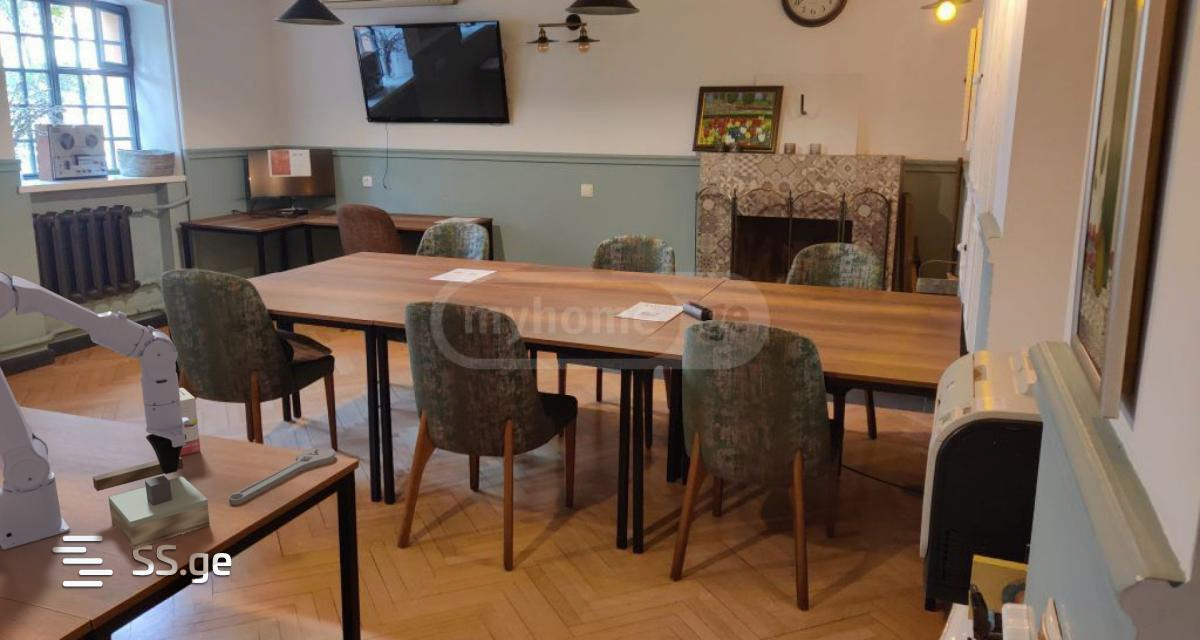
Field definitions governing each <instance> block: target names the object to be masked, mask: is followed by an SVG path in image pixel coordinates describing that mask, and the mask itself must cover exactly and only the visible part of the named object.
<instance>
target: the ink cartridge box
mask: <svg viewBox="0 0 1200 640" xmlns="http://www.w3.org/2000/svg"><path fill="white" fill-rule="evenodd" d="M179 394H180V403H181V413H182V418H183V417H187V418H188V419H189V420H190V423H189V424H186V425H184V432H183V433H184V434H185V435H186V445H183V446H182V449H181V453H180V457H181V456H186V455H190V454H195V453H200V452H201V442H200V434H199V425H198V415H197V413H198V412H197V406H196V405H197V403H196V397H195V396H193V395H192V394H191V393H190V392H189V391H188V390H187V389H185V388H184V387H179Z"/></svg>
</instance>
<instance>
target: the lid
mask: <svg viewBox="0 0 1200 640" xmlns="http://www.w3.org/2000/svg"><path fill="white" fill-rule="evenodd" d="M144 484H145V486H141V487H138V488H133V489H131V490H126V491H123V492H119V493H115V494H113V495H108V496H107V497H108V503H109V502H110V503H111V505H112V506H113V507H114V508H115V509H116V510H117V512H118V513H119V514H120V515H121V516H122V518H123V519H124V520H125V521H126V522H127V524H128V525H129V526H130V527H134V526H138V525H141V524H144V523H148V522H151V521H155V520H158V519H161V518H165V517H168V516H171V515H175V514H178V513H181V512H185V511H188V510H192V509H195V508H198V507H202V506H205V505H208V504H209V502H208V499H207V497H205V495H203V494H202V493H201V492H200V491H199V490H198V489H197V488H196V487H195V486H194V485H192V484H191V483H190V482H189V481H188V480H187V479H186V478H185V477H184V476H178V477H175V478H171V479H168V478H167V476H165V474H162V475H161V476H160V475H159V476H155V477H151V478H149V479H148V478H147V479H144ZM208 506H209V505H208Z"/></svg>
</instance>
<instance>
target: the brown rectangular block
mask: <svg viewBox="0 0 1200 640" xmlns="http://www.w3.org/2000/svg"><path fill="white" fill-rule="evenodd" d="M183 469H184V464H183V458H182V457H181V456H180V458H179V465H178V470H177V471H179V470H183ZM160 475H161V476H162V475H165V473H164V472H163V471H162V469H161V466H160V464H159V461H158V459H157V460H152V461H148V462H144V463H140V464H138V465H133V466H130V467H125V468H121V469H117V470H113V471H109V472H106V473H102V474H97V475H93V476H92V481H93V488H94V490H96V492H100V491H104V490H107V489H110V488H114V487H118V486H122V485H126V484H129V483H133V482H138V481H142V480H147V479H148V478H149V479H150V478H154V477H158V476H160Z"/></svg>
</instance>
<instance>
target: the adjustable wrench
mask: <svg viewBox="0 0 1200 640" xmlns="http://www.w3.org/2000/svg"><path fill="white" fill-rule="evenodd" d="M305 452H309V453H305ZM312 453H315V454H312ZM335 453H336V451H335V450H334V449H333V448H330V449H329V450H328V452H327V453H323V454H319V452H318V448H316V447H315V448H311V449H307V450H305V451H303V452H301V453H299V454H298V453H297V454H296V455H297V456H296V457H295V461H294V462H292V463H291V464H289V465H287V466H285V467H283V468H281V469H279V470H277V471H276V472H275V471H274V473H272V474H270V475H268V476H265V477H264V478H262V479H260V480H258V481H256V482H254V483H252V484H250V485H248V486H246V487H244V488H242V489H240V490H238V491H236V492H234V493H231V495H229V496H228V503H229V504H230V505H233V506H234V505H235V506H237V505H241V504H243V503H245V502H247V501H249V500H250V499H252V498H254V497H256V496H258V495H260V494H262V493H264V492H266V491H268V490H269V489H270V488H271V489H272V488H273V487H275V486H276V484H277V485H279V484H280V483H282V482H284V481H286V480H287V478H288V477H290V478H291V477H293V476H295V475H297V474H299V473H300V471H301V472H303V471H305V470H308V469H311V468H314V466H315V467H318V466H317V465H319V466H322V465H326V464H329V463H332V462H334V460H335V459H336V454H335ZM310 467H311V468H310ZM307 468H308V469H307ZM302 470H303V471H302ZM298 472H299V473H298ZM296 473H297V474H296ZM294 474H295V475H294ZM292 475H293V476H292ZM285 479H286V480H285ZM288 479H289V478H288ZM283 480H284V481H283ZM281 481H282V482H281ZM274 485H275V486H274Z"/></svg>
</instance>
